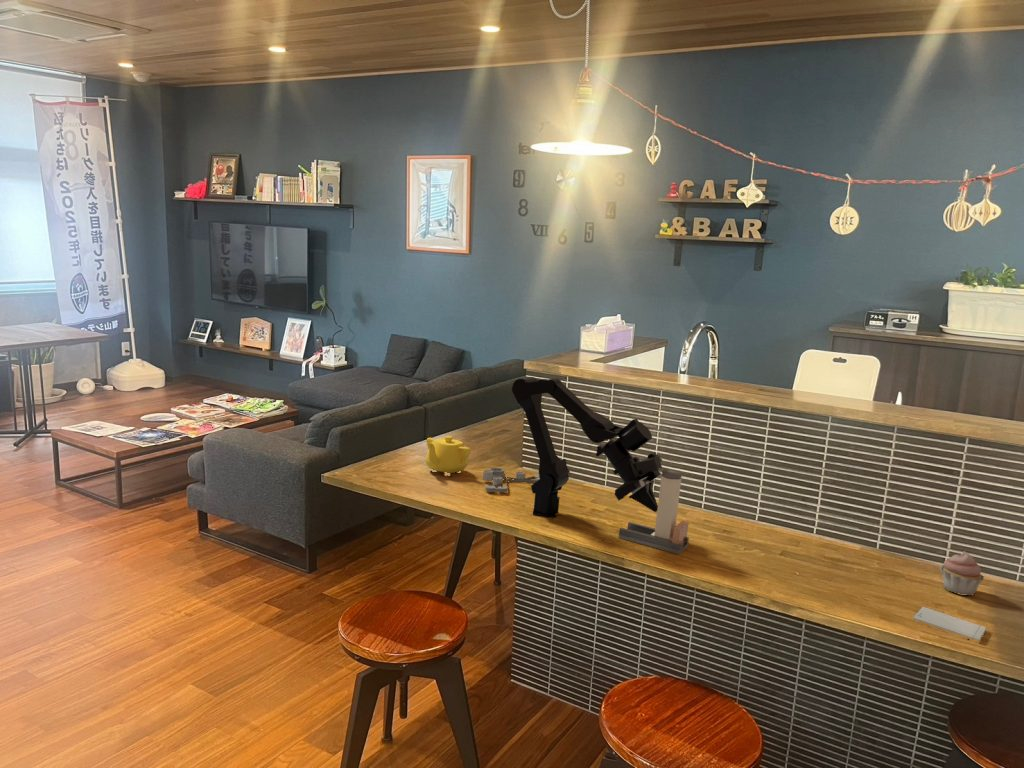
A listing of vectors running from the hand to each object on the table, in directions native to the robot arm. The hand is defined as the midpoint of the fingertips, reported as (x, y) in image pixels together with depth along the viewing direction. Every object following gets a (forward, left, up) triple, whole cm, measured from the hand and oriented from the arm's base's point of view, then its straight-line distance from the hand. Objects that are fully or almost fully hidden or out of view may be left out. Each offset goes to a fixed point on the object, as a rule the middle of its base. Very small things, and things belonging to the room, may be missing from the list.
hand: (657, 510), depth 194 cm
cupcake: (+72, -9, -9) cm, 73 cm away
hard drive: (+60, -30, -9) cm, 68 cm away
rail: (0, 0, -8) cm, 9 cm away
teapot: (-64, +42, -9) cm, 77 cm away
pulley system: (-43, +39, -9) cm, 59 cm away
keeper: (+2, -1, -7) cm, 8 cm away
